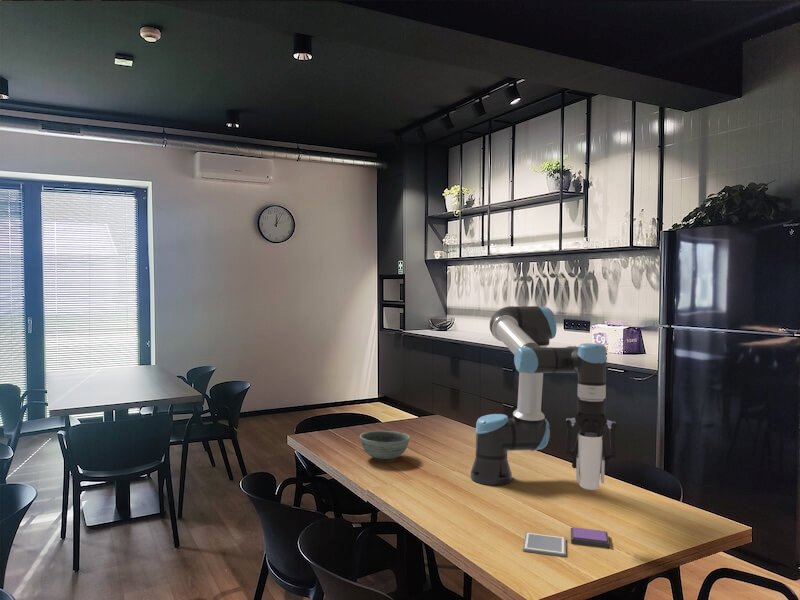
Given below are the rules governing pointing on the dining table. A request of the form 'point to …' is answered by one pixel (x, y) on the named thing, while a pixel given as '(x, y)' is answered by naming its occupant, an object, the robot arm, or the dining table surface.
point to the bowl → (384, 444)
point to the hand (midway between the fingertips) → (589, 480)
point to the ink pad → (589, 537)
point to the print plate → (545, 544)
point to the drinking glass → (589, 460)
